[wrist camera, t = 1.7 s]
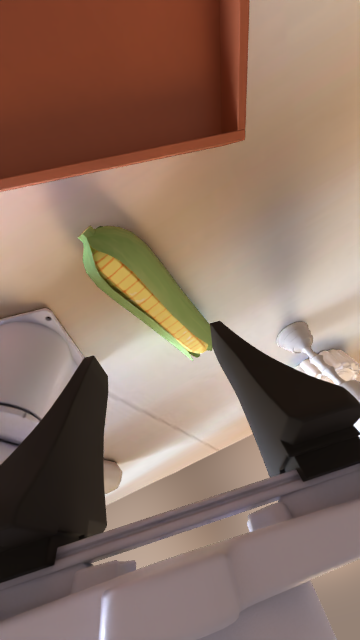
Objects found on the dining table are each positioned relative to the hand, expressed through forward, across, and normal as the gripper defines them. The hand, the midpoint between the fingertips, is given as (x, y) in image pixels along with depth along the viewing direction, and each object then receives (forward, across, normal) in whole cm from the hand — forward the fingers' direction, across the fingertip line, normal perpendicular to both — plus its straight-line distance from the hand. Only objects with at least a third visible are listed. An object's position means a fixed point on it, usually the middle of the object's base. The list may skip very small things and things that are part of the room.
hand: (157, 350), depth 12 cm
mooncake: (+10, -25, +26) cm, 38 cm away
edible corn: (+10, -2, +3) cm, 10 cm away
